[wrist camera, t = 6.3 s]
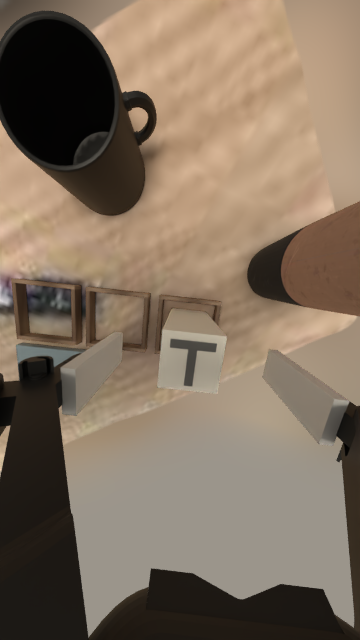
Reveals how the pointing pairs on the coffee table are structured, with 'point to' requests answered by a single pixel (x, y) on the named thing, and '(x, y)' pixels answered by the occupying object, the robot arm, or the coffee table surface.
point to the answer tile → (45, 352)
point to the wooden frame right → (183, 299)
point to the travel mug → (314, 265)
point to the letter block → (191, 352)
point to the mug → (72, 110)
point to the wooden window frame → (91, 317)
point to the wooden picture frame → (22, 312)
